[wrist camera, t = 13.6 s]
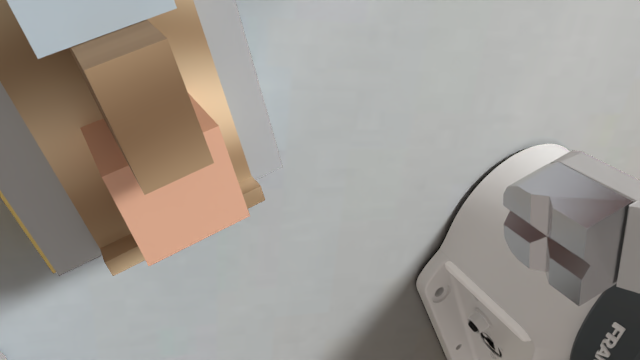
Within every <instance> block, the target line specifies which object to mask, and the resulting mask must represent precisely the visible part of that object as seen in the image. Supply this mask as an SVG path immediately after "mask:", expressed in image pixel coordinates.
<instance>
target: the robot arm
mask: <svg viewBox="0 0 640 360" xmlns="http://www.w3.org/2000/svg"><path fill="white" fill-rule="evenodd" d="M416 286H417V290H418V292H419V294H420V297H421V299H422V301H423V304H424V306H425V308H426V311H427V313H428V315H429V318H430V320H431V322H432V325H433V327H434V330H435V332H436V334H437V337H438V339H439V341H440V344H441V346H442V348H443V351H444V353H445V355H446V358H447V360H640V180H639V179H637V178H635V177H633V176H631V175H629V174H627V173H625V172H623V171H621V170H619V169H617V168H615V167H613V166H611V165H609V164H607V163H605V162H603V161H601V160H599V159H597V158H595V157H593V156H591V155H589V154H587V153H585V152H582V151H575V150H572V151H569V150H568V149H566V148H565V147H563V146H560V145H556V144H541V145H536V146H533V147H530V148H527V149H525V150H523V151H521V152H519V153H517V154H515V155H513V156H512V157H510V158H508V159H507V160H505V161H504V162H503V163H501V164H500V165H499V166H498V167H496V168H495V169H494V170H493V171H492V172H491V173H489V174H488V175H487V176H486V177H485V178H484V179H483V180H482V181H481V183H480V184H479V185H478V186H477V187H476V188H475V189H474V191H473V192H472V193H471V194H470V196H469V197H468V198H467V200H466V201H465V202H464V204H463V205H462V207H461V209H460V210H459V212H458V214H457V215H456V217H455V219H454V221H453V223H452V225H451V227H450V229H449V231H448V233H447V235H446V238H445V240H444V242H443V244H442V245H441V247H440V249H439V250H438V251H437V252H436V254H435V255H434V256H433V257H432V258H431V260H430V261H429V262H428V263H427V265H426V266H425V267H424V269H423V270H422V272H421V273H420V275H419V277H418V279H417V282H416Z"/></svg>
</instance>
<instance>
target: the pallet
mask: <svg viewBox="0 0 640 360" xmlns="http://www.w3.org/2000/svg"><path fill="white" fill-rule="evenodd" d="M174 1H175V4H176V7H177V8H176V9H174V10H171V11H168V12H165V13H163V14H160V15H157V16H154V17H152V18H149V19H146V20H143V21H141V22H138V23H135V24H133V25H130V26H127V27H124V28H122V29H119V30H116V31H113V32H111V33H108V34H105V35H102V36H100V37H97V38H94V39H91V40H89V41H86V42H83V43H81V44H78V45H75V46H72V47H70V48H67V49H64V50H61V51H59V52H56V53H53V54H50V55H48V56H45V57H42V58H39V59H38V58H37V56H36V54H35V53H34V51H33V49H32V47H31V45H30V43H29V41H28V40H27V38H26V36H25V34H24V32H23V30H22V28H21V26H20V25H19V23H18V21H17V19H16V17H15V15H14V13H13V11H12V10H11V8H10V6H9V4H8V2H7V0H0V82H1V84H2V85H3V87H4V89H5V90H6V92H7V94H8V95H9V97H10V99H11V100H12V102H13V104H14V105H15V107H16V109H17V110H18V112H19V114H20V115H21V117H22V119H23V120H24V122H25V124H26V126H27V127H28V129H29V131H30V132H31V134H32V136H33V137H34V139H35V141H36V142H37V144H38V146H39V147H40V149H41V151H42V152H43V154H44V156H45V157H46V159H47V161H48V162H49V164H50V166H51V167H52V169H53V171H54V173H55V174H56V176H57V178H58V179H59V181H60V183H61V184H62V186H63V188H64V189H65V191H66V193H67V194H68V196H69V198H70V199H71V201H72V203H73V204H74V206H75V208H76V209H77V211H78V213H79V215H80V216H81V218H82V220H83V221H84V223H85V225H86V226H87V228H88V230H89V231H90V233H91V235H92V236H93V238H94V240H95V241H96V243H97V245H98V246H99V248H100V250H101V253H102V256H103V259H104V262H105V264H106V265H107V267H108V269H109V270H110V272H111V274H112V275H113V276H114V275H116V274H118V273H120V272H122V271H124V270H126V269H128V268H130V267H132V266H134V265H136V264H138V263H140V262H142V261H144V260H145V258H144V256H143V254H142V253H141V251H140V249H139V247H138V245H137V243H136V241H135V239H134V237H133V236H132V234H131V232H130V230H129V228H128V226H127V224H126V222H125V220H124V218H123V217H122V215H121V213H120V211H119V209H118V207H117V205H116V203H115V201H114V200H113V198H112V196H111V194H110V192H109V190H108V188H107V186H106V184H105V183H104V181H103V179H102V177H101V174H100V172H99V170H98V168H97V165H96V163H95V161H94V158H93V156H92V154H91V152H90V149H89V147H88V145H87V142H86V140H85V138H84V136H83V133H82V131H81V129H80V128H81V127H83V126H86V125H88V124H91V123H93V122H96V121H98V120H100V119H103V118H104V120H105V122H106V124H107V126H108V128H109V129H110V131H111V133H112V135H113V137H114V139H115V141H116V142H117V144H118V146H119V148H120V150H121V152H122V154H123V156H124V157H125V159H126V161H127V163H128V165H129V167H130V169H131V170H132V172H133V174H134V176H135V178H136V180H137V182H138V184H139V185H140V187H141V189H142V191H143V193H144V195H146V194H148V193H150V192H153V191H155V190H157V189H159V188H161V187H163V186H165V185H168V184H170V183H172V182H174V181H176V180H178V179H181V178H183V177H185V176H187V175H189V174H191V173H194V172H196V171H198V170H200V169H202V168H204V167H206V166H209V165H211V164H213V163H214V161H213V159H212V156H211V153H210V151H209V148H208V145H207V143H206V140H205V137H204V135H203V132H202V129H201V127H200V124H199V121H198V119H197V116H196V113H195V111H194V108H193V105H192V103H191V100H190V97H189V95H188V93H189V94H190V95H191V96H192V97H193V98H194V100H195V101H196V102H197V103H198V104H199V105H200V106H201V107H202V108H203V109H204V110H205V111H206V112H207V114H208V115H209V116H210V117H211V118H212V119H213V120H214V121H215V122H216V123H217V124H218V125H219V128H220V131H221V134H222V136H223V139H224V142H225V145H226V148H227V151H228V154H229V157H230V160H231V162H232V165H233V168H234V171H235V174H236V177H237V180H238V183H239V185H240V188H241V191H242V194H243V197H244V200H245V203H246V206H247V209H248V208H250V207H252V206H254V205H256V204H258V203H260V202H262V201H264V200H265V198H264V195H263V192H262V189H261V186H260V185H259V184H258V182H257V181H256V180H255V179H254V178H253V177H252V176H251V173H250V170H249V167H248V164H247V161H246V158H245V155H244V151H243V148H242V145H241V142H240V139H239V136H238V133H237V130H236V127H235V124H234V121H233V118H232V115H231V112H230V109H229V106H228V103H227V100H226V97H225V94H224V91H223V88H222V85H221V82H220V79H219V76H218V73H217V70H216V67H215V64H214V61H213V58H212V55H211V52H210V49H209V46H208V43H207V40H206V37H205V34H204V31H203V28H202V25H201V22H200V19H199V16H198V13H197V10H196V7H195V4H194V1H193V0H174Z"/></svg>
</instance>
